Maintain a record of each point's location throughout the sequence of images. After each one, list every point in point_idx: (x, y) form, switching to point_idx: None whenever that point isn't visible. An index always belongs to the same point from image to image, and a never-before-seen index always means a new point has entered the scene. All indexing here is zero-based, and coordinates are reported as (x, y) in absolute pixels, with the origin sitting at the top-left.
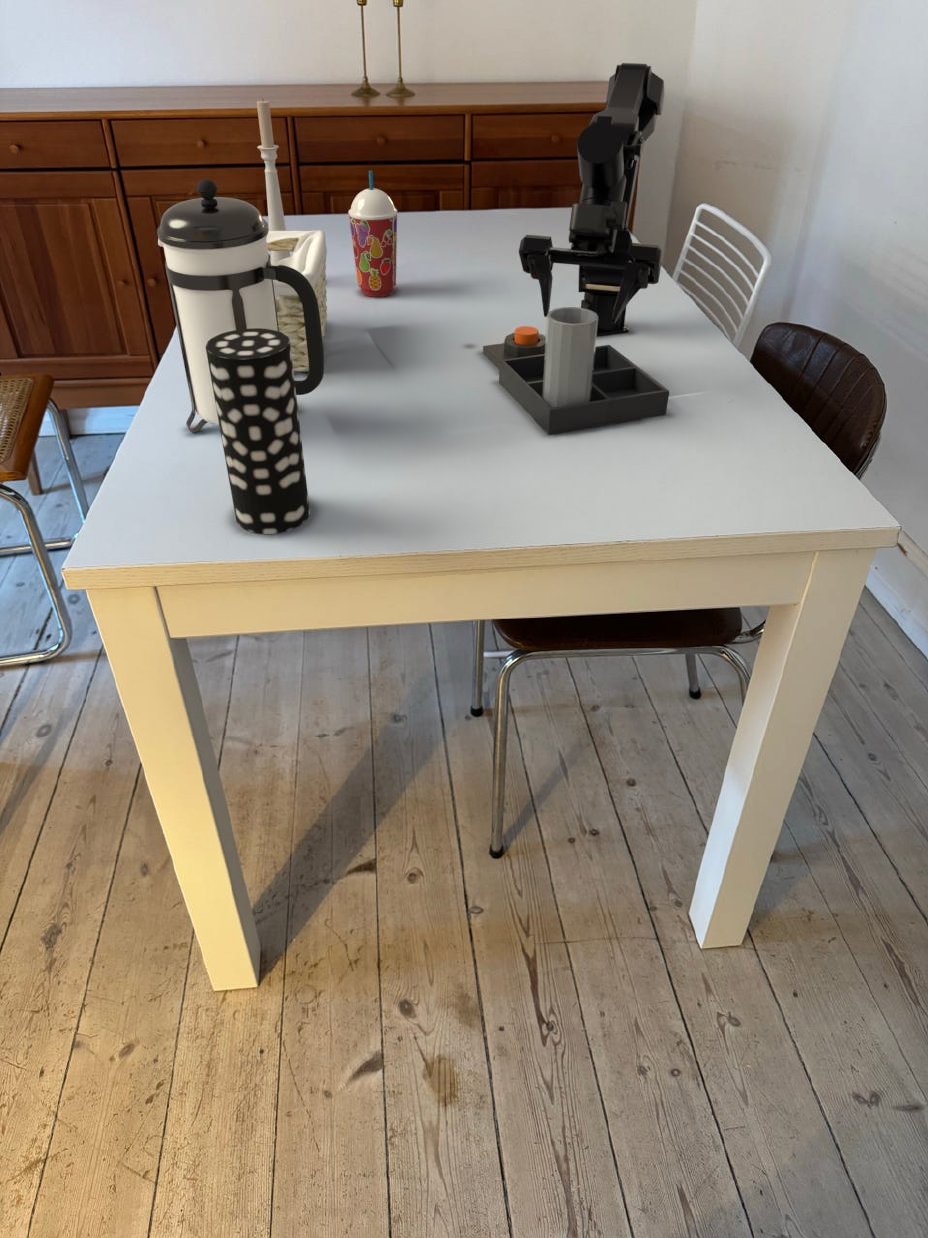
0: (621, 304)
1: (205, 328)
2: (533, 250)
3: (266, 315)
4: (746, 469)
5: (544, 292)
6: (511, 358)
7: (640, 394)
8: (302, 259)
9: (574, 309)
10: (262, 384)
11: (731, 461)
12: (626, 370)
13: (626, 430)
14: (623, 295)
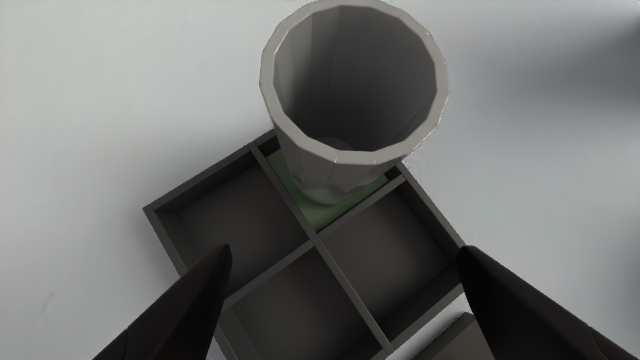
0: (171, 288)
1: None
2: None
3: None
4: (69, 73)
5: (545, 305)
6: (472, 356)
7: (198, 178)
8: None
9: (363, 151)
10: None
11: (86, 90)
12: (229, 296)
13: (231, 145)
14: (140, 328)
